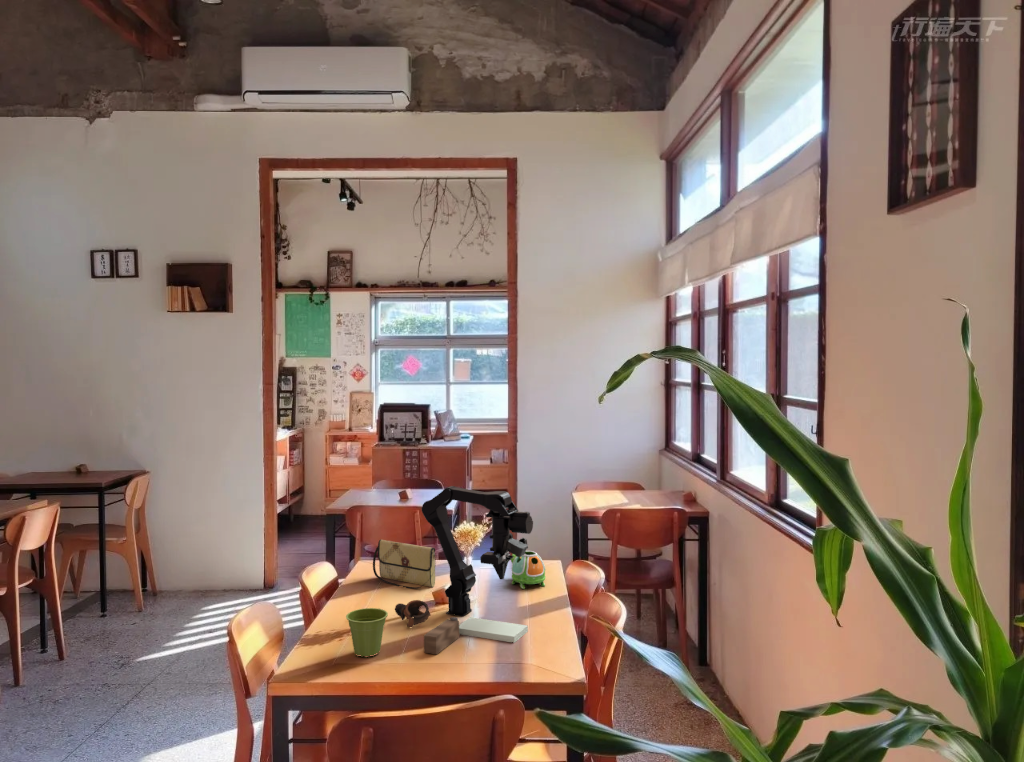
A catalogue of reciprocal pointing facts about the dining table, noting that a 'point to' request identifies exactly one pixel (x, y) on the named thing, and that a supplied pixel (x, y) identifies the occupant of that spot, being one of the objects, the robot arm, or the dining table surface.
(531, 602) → the dining table surface
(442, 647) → the folding leg
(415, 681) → the dining table surface
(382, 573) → the clutch purse
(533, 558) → the turtle holder
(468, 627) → the pale green flat block
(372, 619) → the plant pot
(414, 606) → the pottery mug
